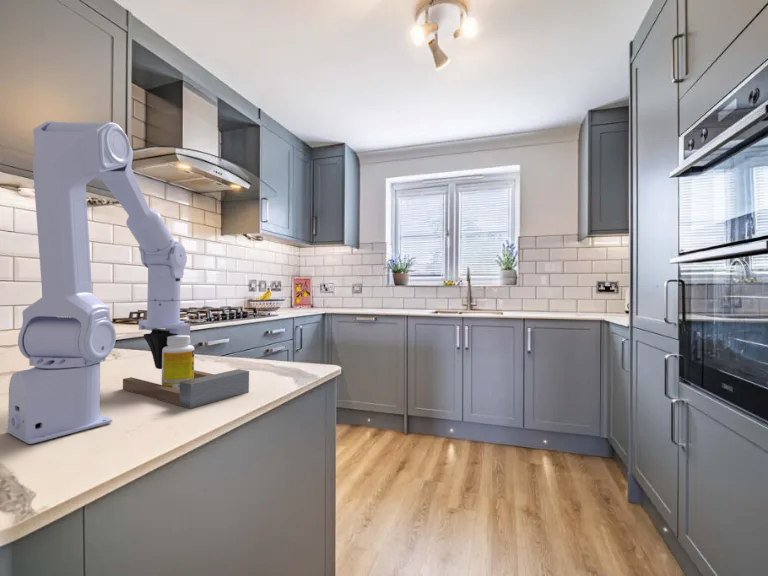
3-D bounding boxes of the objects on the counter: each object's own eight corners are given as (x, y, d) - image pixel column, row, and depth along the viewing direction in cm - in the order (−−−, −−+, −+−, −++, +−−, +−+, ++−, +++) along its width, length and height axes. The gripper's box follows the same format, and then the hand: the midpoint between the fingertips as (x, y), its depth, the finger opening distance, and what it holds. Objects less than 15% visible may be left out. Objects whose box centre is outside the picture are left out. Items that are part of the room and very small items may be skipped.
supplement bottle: (197, 389, 75) (198, 337, 75) (164, 394, 71) (165, 339, 71) (190, 383, 79) (190, 333, 79) (159, 387, 75) (159, 335, 75)
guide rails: (179, 405, 65) (179, 393, 65) (122, 389, 74) (122, 378, 74) (238, 389, 75) (238, 379, 75) (182, 376, 84) (182, 367, 84)
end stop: (190, 408, 63) (190, 384, 63) (179, 405, 65) (179, 381, 65) (248, 391, 74) (249, 371, 74) (238, 389, 75) (238, 369, 75)
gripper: (204, 301, 77) (203, 368, 77) (162, 298, 84) (161, 360, 85) (170, 302, 71) (169, 375, 71) (128, 299, 78) (127, 366, 78)
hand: (162, 367), depth 77 cm, fingers closed
